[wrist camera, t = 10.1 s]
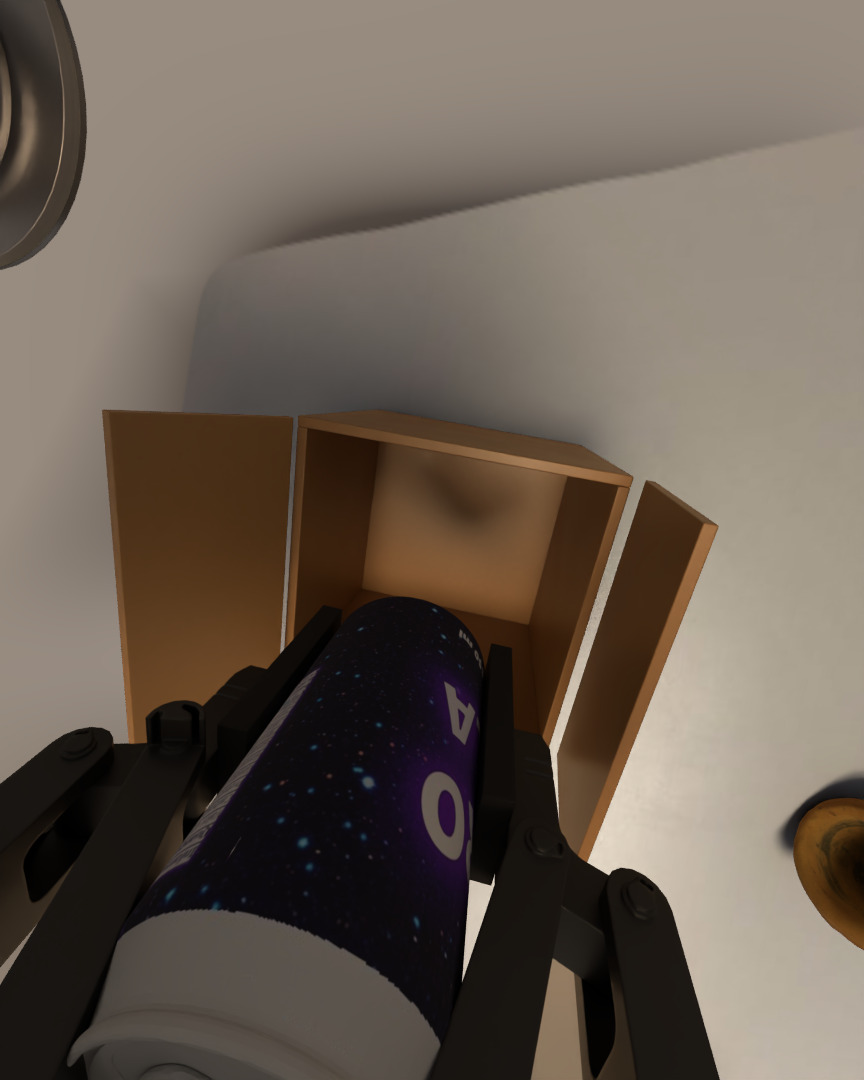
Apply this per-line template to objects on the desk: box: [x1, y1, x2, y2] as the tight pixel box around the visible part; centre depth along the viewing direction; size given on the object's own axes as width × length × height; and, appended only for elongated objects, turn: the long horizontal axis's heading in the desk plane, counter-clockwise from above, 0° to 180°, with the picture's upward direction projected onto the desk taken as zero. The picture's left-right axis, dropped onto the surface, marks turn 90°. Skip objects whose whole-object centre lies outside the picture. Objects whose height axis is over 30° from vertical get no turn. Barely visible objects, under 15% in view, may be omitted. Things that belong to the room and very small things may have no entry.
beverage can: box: [67, 596, 485, 1080], centre depth 11 cm, size 6×6×12 cm
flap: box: [102, 410, 293, 744], centre depth 19 cm, size 7×15×1 cm
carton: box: [284, 409, 718, 862], centre depth 25 cm, size 16×15×21 cm
